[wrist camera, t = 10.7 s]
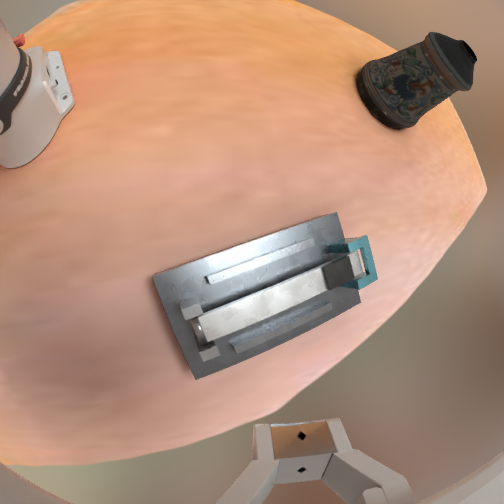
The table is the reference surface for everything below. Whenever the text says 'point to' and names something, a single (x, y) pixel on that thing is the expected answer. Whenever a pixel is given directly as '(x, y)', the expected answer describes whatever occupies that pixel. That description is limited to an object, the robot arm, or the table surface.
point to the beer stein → (415, 79)
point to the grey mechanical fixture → (256, 279)
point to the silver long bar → (275, 298)
